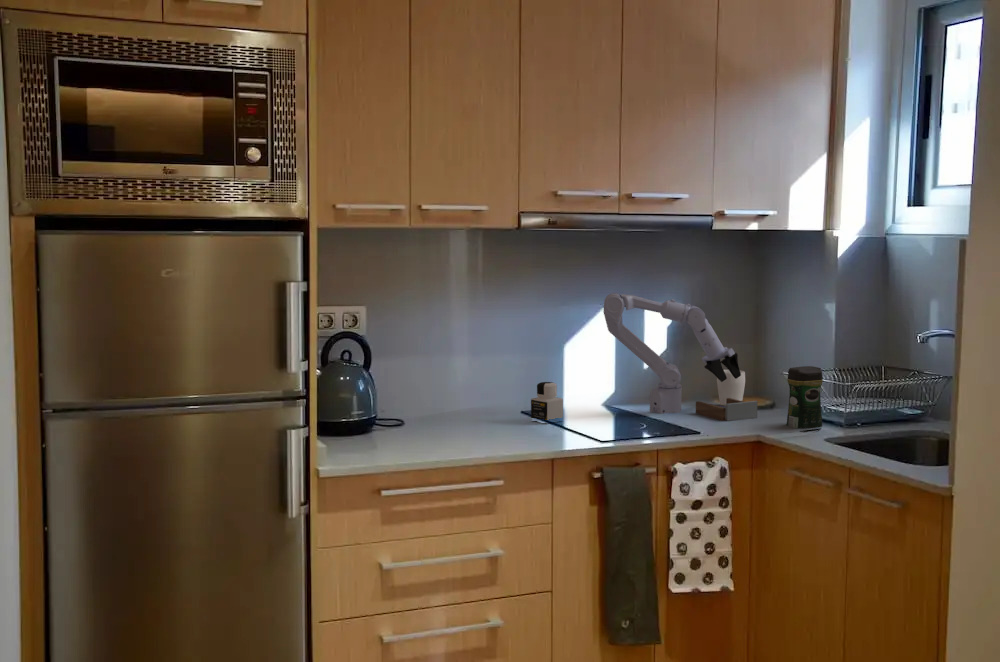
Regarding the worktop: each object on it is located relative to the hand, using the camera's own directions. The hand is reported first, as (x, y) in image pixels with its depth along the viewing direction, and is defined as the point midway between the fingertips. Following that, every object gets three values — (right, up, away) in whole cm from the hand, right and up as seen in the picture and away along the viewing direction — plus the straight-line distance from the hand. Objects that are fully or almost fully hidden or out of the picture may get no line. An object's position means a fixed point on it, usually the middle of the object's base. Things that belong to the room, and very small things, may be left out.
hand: (731, 378), depth 306 cm
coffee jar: (+16, -14, -21) cm, 30 cm away
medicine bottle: (-58, -13, -5) cm, 59 cm away
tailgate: (0, -12, -11) cm, 16 cm away
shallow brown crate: (-3, -12, -4) cm, 13 cm away
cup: (+3, -10, +14) cm, 18 cm away
